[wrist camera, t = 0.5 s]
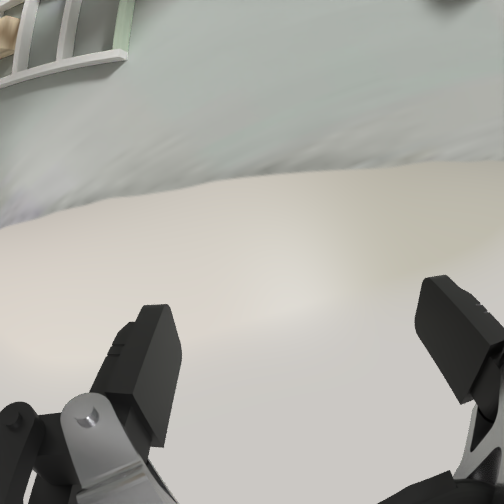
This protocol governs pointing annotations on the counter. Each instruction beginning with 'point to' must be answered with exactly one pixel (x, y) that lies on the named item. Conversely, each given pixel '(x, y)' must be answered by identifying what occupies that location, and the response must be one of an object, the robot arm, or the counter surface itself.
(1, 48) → the beech letter block
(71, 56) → the divider frame
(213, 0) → the counter surface
